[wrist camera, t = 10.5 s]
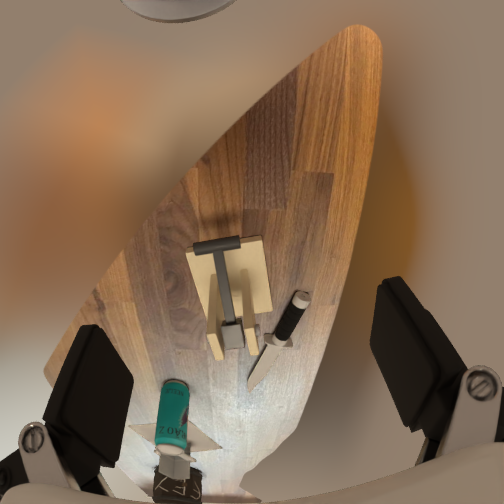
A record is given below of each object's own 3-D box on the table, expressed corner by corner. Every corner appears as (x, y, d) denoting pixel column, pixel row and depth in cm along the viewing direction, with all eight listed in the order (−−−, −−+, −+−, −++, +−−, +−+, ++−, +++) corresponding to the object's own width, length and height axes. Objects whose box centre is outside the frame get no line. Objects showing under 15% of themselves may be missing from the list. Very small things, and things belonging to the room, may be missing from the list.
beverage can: (191, 394, 56) (188, 457, 43) (164, 392, 56) (157, 455, 43) (188, 378, 54) (183, 446, 41) (159, 377, 53) (150, 443, 40)
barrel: (211, 469, 82) (211, 507, 69) (193, 479, 90) (193, 513, 76) (161, 459, 77) (158, 499, 64) (149, 470, 85) (146, 505, 71)
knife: (289, 298, 42) (320, 304, 43) (286, 287, 44) (316, 294, 45) (235, 396, 53) (259, 399, 54) (235, 386, 56) (258, 389, 57)
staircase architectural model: (187, 419, 62) (185, 461, 52) (223, 448, 72) (224, 482, 62) (127, 425, 64) (121, 462, 54) (168, 454, 74) (166, 485, 64)
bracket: (186, 247, 40) (172, 310, 28) (261, 234, 39) (273, 295, 28) (207, 314, 46) (203, 381, 34) (271, 304, 45) (284, 370, 34)
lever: (195, 242, 33) (191, 243, 31) (239, 235, 33) (238, 235, 31) (215, 344, 34) (212, 351, 32) (257, 338, 34) (257, 345, 32)
